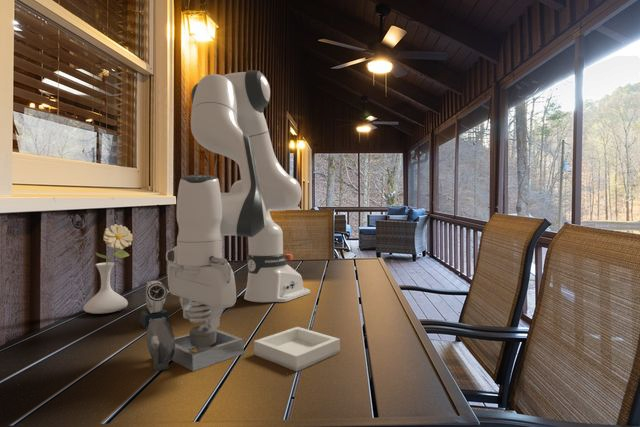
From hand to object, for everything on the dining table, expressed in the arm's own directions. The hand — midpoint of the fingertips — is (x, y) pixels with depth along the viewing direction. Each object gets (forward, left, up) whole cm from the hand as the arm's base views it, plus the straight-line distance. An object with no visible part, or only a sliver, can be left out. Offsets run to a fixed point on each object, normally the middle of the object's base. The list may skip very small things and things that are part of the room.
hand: (200, 322), depth 82 cm
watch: (-4, -28, -7) cm, 29 cm away
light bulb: (-1, 0, -7) cm, 7 cm away
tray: (-13, +14, -7) cm, 21 cm away
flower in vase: (0, -50, -7) cm, 50 cm away
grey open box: (+2, 0, -7) cm, 7 cm away
